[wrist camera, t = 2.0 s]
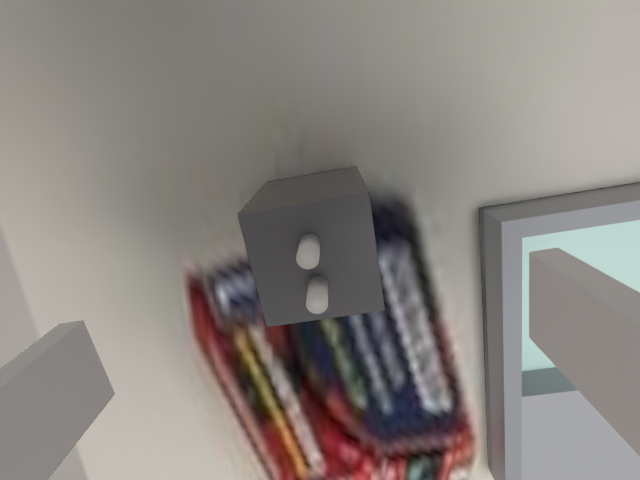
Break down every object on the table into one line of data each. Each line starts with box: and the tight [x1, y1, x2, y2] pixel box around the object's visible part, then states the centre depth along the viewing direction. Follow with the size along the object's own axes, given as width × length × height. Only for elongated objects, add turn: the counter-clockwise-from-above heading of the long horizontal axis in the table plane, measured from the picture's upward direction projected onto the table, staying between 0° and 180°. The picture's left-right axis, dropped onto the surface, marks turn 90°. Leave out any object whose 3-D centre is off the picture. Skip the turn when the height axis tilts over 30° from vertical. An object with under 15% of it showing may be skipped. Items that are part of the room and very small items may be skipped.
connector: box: [238, 166, 385, 327], centre depth 17 cm, size 5×5×9 cm
